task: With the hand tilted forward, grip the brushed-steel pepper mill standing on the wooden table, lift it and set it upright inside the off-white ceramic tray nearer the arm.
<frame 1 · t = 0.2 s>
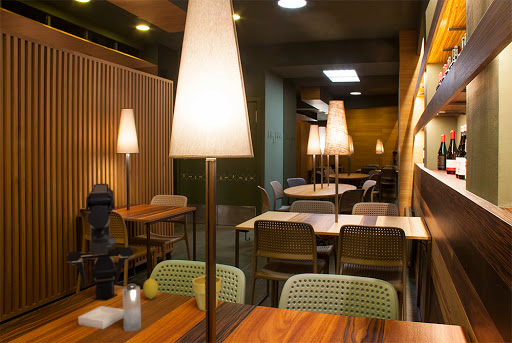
hand: (101, 283, 122), 15 cm above the table, tool tilted 15°, fingers open, 9 cm apart
lemon: (151, 299, 152), on the table
pepper mill: (132, 327, 127), on the table
plant pot: (207, 307, 143), on the table
serving tray: (102, 320, 132), on the table
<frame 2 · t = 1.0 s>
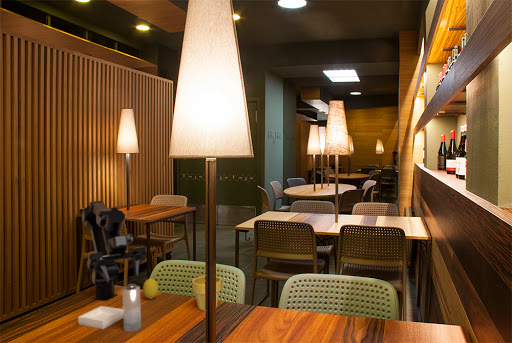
hand: (123, 279, 133), 13 cm above the table, tool tilted 45°, fingers open, 9 cm apart
nothing on the table moved.
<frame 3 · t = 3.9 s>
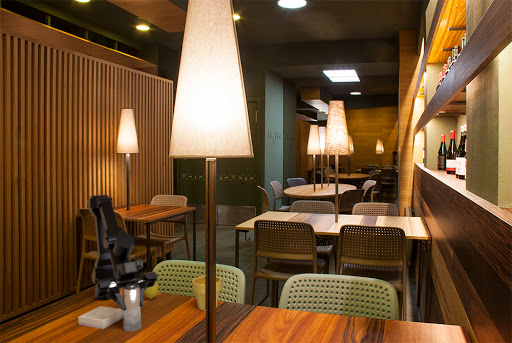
hand: (133, 308, 125), 7 cm above the table, tool tilted 45°, fingers closed on pepper mill, 5 cm apart
pepper mill: (132, 327, 127), on the table, touching gripper
everything else where it was.
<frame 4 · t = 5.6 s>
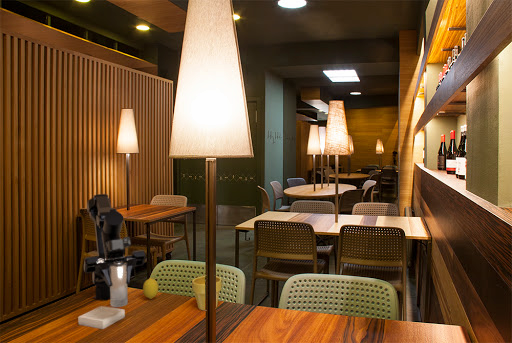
hand: (119, 284, 127), 13 cm above the table, tool tilted 45°, fingers closed on pepper mill, 5 cm apart
pepper mill: (119, 303, 128), point 7 cm above the table, touching gripper
everything else where it was.
when the fingers open (9 cm above the table, at t = 7.7 s): pepper mill drops 1 cm, resting on serving tray.
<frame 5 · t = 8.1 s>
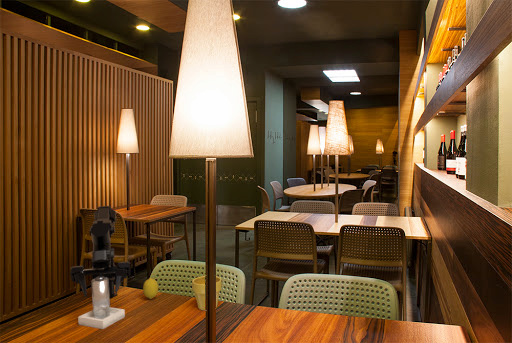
hand: (100, 294, 131), 9 cm above the table, tool tilted 45°, fingers open, 9 cm apart
pepper mill: (102, 317, 132), point 1 cm above the table, touching serving tray
everything else where it was.
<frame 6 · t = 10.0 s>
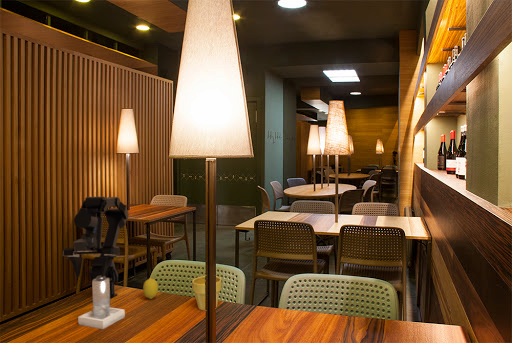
hand: (90, 276, 140), 12 cm above the table, tool tilted 15°, fingers open, 9 cm apart
nothing on the table moved.
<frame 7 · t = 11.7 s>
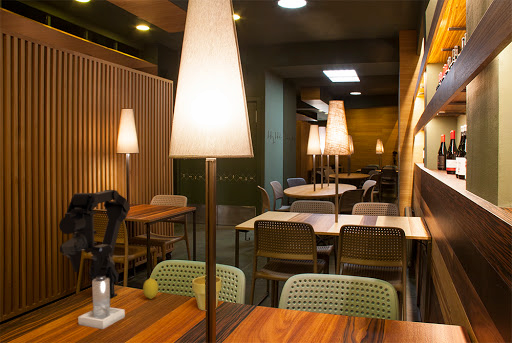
hand: (86, 272, 142), 13 cm above the table, tool pointing down, fingers open, 9 cm apart
nothing on the table moved.
at the end: pepper mill inside the target area on the serving tray (0.1 cm from its centre), point 1.0 cm above the serving tray's base; pepper mill tilted 0°; the gripper is holding nothing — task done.
